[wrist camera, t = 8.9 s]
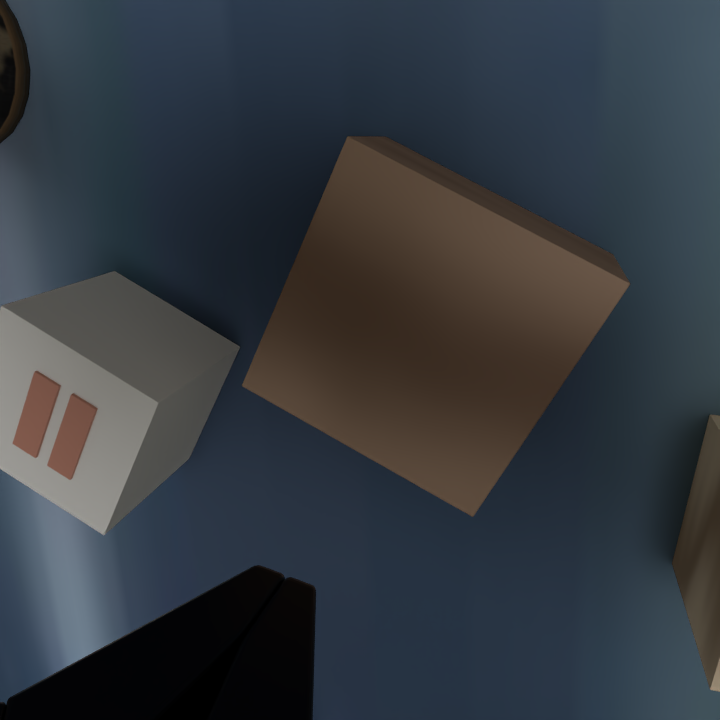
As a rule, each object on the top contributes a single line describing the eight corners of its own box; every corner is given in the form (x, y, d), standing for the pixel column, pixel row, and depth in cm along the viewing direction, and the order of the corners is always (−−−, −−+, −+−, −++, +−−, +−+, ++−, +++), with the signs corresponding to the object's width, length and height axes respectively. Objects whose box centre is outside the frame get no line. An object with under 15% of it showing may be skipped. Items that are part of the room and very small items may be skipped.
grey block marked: (190, 457, 23) (101, 537, 19) (76, 386, 24) (-39, 447, 19) (241, 346, 21) (156, 404, 17) (115, 270, 22) (-2, 306, 17)
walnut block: (485, 448, 20) (472, 517, 17) (294, 342, 21) (241, 385, 17) (612, 253, 17) (630, 283, 14) (387, 136, 18) (347, 136, 14)
